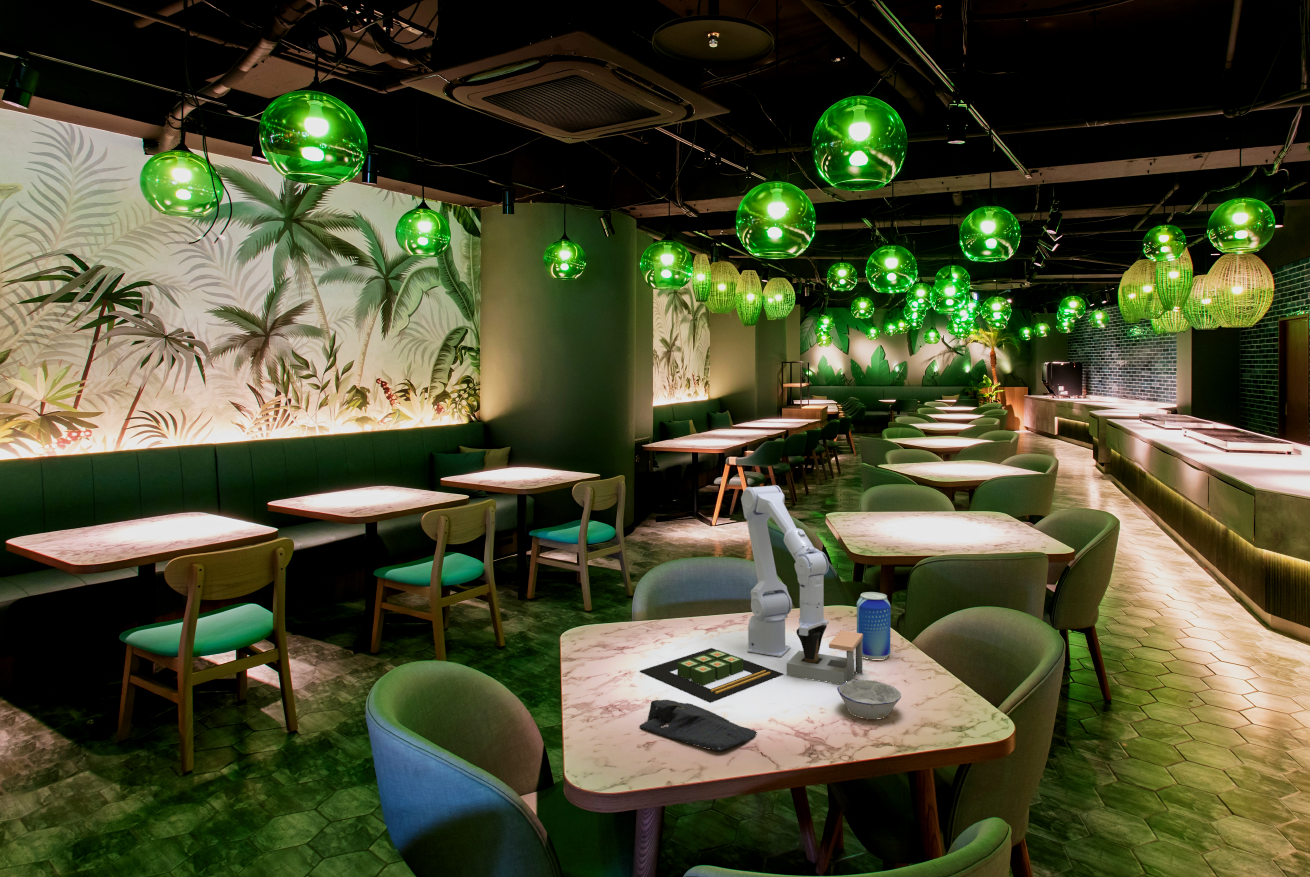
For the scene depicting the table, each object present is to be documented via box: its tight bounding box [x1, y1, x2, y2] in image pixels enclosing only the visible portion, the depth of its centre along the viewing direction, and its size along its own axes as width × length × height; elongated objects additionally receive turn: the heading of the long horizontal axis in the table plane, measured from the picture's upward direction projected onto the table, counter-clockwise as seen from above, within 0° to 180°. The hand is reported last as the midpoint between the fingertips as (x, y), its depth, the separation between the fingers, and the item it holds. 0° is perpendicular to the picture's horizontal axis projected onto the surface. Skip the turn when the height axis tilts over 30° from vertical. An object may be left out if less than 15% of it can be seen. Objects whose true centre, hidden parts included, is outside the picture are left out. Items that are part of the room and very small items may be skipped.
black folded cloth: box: [639, 699, 758, 752], centre depth 148 cm, size 15×22×5 cm
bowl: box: [836, 678, 902, 720], centre depth 156 cm, size 13×13×5 cm
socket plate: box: [786, 650, 847, 685], centre depth 178 cm, size 14×10×3 cm
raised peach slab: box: [828, 630, 863, 681], centre depth 175 cm, size 6×11×10 cm, turn 152°
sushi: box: [639, 647, 784, 704], centre depth 179 cm, size 25×25×4 cm
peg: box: [805, 641, 819, 664], centre depth 179 cm, size 3×3×7 cm
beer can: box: [856, 591, 892, 660], centre depth 189 cm, size 8×8×16 cm
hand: (811, 656), depth 179 cm, fingers closed on peg, 3 cm apart
